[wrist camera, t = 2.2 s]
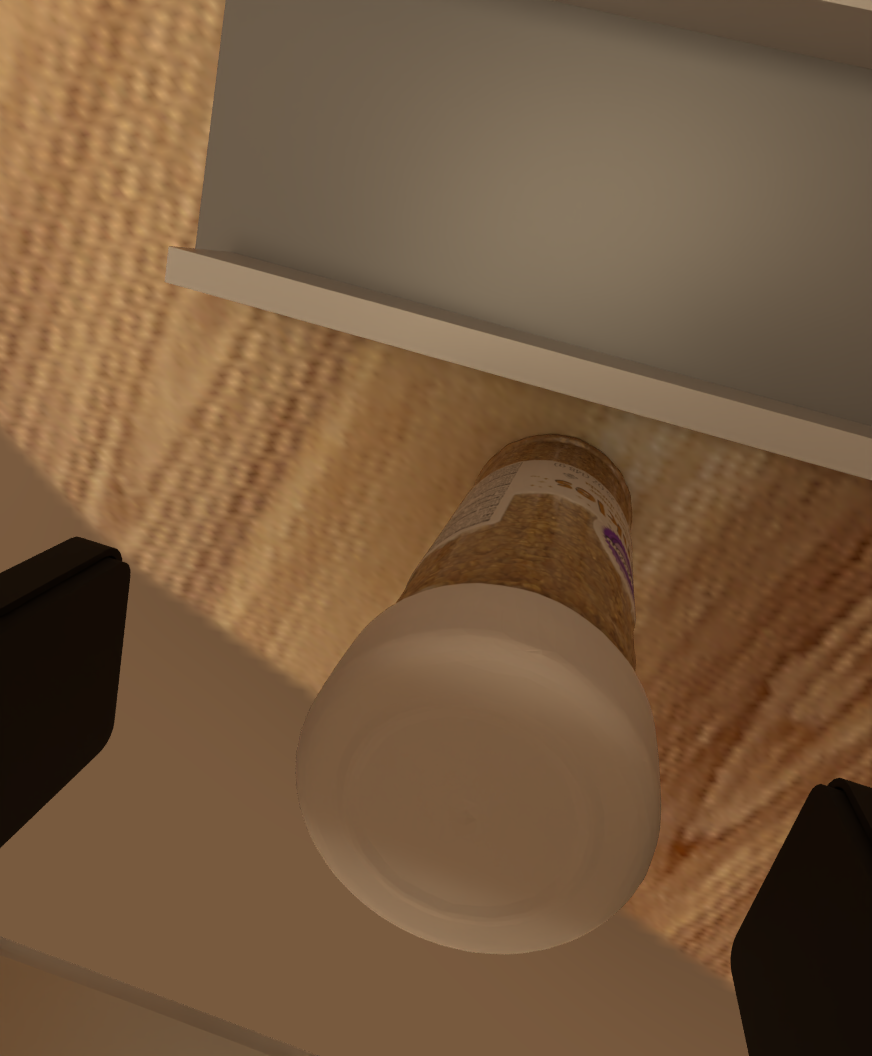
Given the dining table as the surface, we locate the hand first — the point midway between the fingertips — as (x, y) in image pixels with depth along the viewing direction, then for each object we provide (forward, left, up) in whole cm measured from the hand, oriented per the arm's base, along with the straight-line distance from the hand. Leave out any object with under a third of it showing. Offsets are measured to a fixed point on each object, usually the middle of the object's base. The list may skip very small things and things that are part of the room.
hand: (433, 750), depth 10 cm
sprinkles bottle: (-1, 0, -13) cm, 13 cm away
